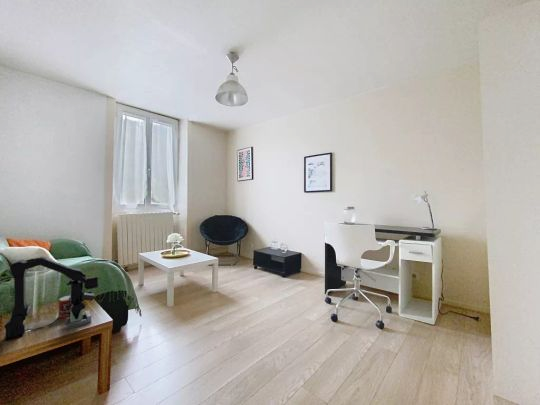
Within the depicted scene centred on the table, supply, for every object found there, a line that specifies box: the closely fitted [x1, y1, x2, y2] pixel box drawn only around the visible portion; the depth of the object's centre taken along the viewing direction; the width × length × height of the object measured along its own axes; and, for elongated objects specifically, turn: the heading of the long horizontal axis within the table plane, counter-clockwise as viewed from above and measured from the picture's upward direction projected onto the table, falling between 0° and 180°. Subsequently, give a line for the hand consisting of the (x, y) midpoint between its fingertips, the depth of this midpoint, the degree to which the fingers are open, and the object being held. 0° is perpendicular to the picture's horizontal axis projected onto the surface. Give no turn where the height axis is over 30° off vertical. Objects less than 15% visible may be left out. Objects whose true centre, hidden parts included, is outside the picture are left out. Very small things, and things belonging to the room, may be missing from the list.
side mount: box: [65, 309, 92, 330], centre depth 140 cm, size 11×10×4 cm
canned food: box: [58, 295, 71, 319], centre depth 149 cm, size 8×8×11 cm
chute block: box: [69, 309, 83, 323], centre depth 140 cm, size 5×5×7 cm
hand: (76, 317), depth 140 cm, fingers open, 5 cm apart
